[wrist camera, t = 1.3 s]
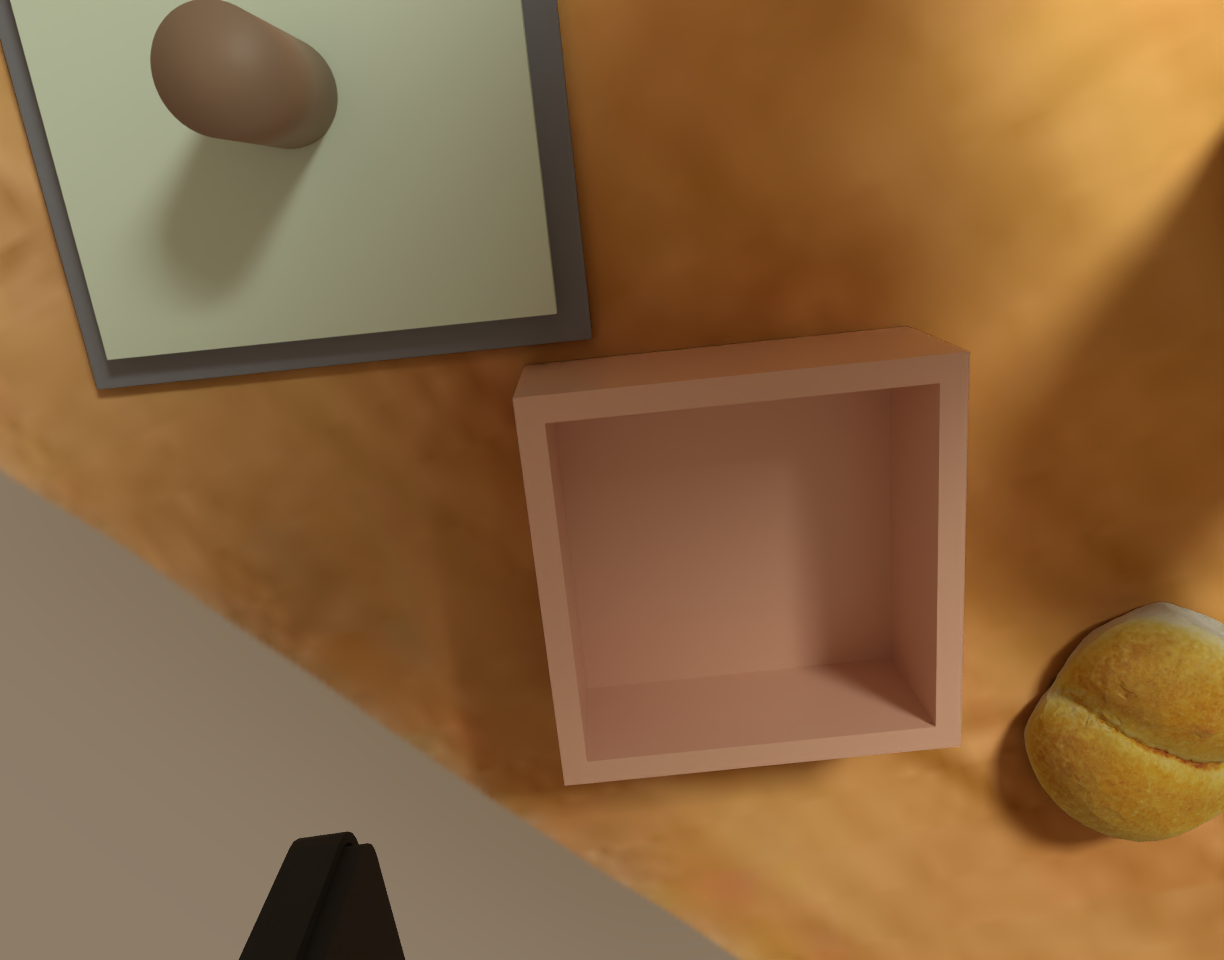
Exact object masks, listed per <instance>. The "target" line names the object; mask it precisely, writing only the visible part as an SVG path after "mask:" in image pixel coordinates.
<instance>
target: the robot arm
mask: <svg viewBox="0 0 1224 960" xmlns="http://www.w3.org/2000/svg"><path fill="white" fill-rule="evenodd" d="M239 960H405V957H404V954H403V950H402V946H401V943H400V939H399V935H398V932H397V928H396V924H395V921H394V917H393V913H392V910H391V906H390V902H389V899H388V895H387V891H386V888H385V885H384V880H383V877H382V873H381V869H380V866H379V862H378V858H377V855H376V852H375V849H374V847H373V846H372V845H371V844H368V843H367V844H360V845H359V844H358V842H357V839H356V837H355V836H354V835H353V833H351V832H342V833H335V834H328V835H320V836H314V837H307V838H299V839H297V840H296V841H294V842H293V844H292V846H291V847H290V849H289V851H288V853H287V855H286V857H285V860H284V862H283V864H282V866H281V868H280V870H279V873H278V875H277V877H276V879H275V881H274V884H273V886H272V888H271V890H270V892H269V895H268V897H267V899H266V901H265V903H264V905H263V908H262V910H261V912H260V914H259V917H258V919H257V921H256V923H255V926H254V927H253V930H252V932H251V934H250V936H249V938H248V941H247V943H246V945H245V947H244V949H243V952H242V954H241V956H240V958H239Z"/></svg>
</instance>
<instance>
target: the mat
mask: <svg viewBox="0 0 1224 960" xmlns="http://www.w3.org/2000/svg"><path fill="white" fill-rule="evenodd" d="M522 8H523V17H524V25H525V34H526V42H527V51H528V60H529V68H530V77H531V86H532V94H533V103H534V112H535V120H536V129H537V138H538V146H539V155H540V163H541V172H542V181H543V189H544V198H545V207H546V215H547V224H548V233H549V241H550V250H551V259H552V267H553V276H554V284H555V293H556V302H557V310H558V311H557V314H550V315H541V316H531V317H521V318H511V319H502V320H492V321H482V322H472V323H463V324H453V325H443V326H433V327H424V328H414V329H404V330H394V331H385V332H375V333H365V334H355V335H346V336H336V337H326V338H317V339H307V340H297V341H287V342H278V343H268V344H258V345H248V346H239V347H229V348H219V349H209V350H200V351H190V352H180V353H170V354H161V355H151V356H141V357H131V358H122V359H112V360H107V357H106V353H105V349H104V346H103V342H102V338H101V334H100V331H99V327H98V323H97V320H96V316H95V312H94V309H93V305H92V301H91V298H90V294H89V290H88V286H87V283H86V279H85V275H84V272H83V268H82V264H81V261H80V257H79V253H78V250H77V246H76V242H75V238H74V235H73V231H72V227H71V224H70V220H69V216H68V213H67V209H66V205H65V202H64V198H63V194H62V190H61V187H60V183H59V179H58V176H57V172H56V168H55V165H54V161H53V157H52V154H51V150H50V146H49V142H48V139H47V135H46V131H45V128H44V124H43V120H42V117H41V113H40V109H39V106H38V102H37V98H36V94H35V91H34V87H33V83H32V80H31V76H30V72H29V69H28V65H27V61H26V58H25V54H24V50H23V46H22V43H21V39H20V35H19V32H18V28H17V24H16V21H15V17H14V13H13V9H12V6H11V2H10V0H0V39H1V43H2V46H3V50H4V54H5V57H6V61H7V64H8V68H9V72H10V75H11V79H12V83H13V86H14V90H15V93H16V97H17V101H18V104H19V108H20V111H21V115H22V119H23V122H24V126H25V129H26V133H27V137H28V140H29V144H30V148H31V151H32V155H33V158H34V162H35V166H36V169H37V173H38V176H39V180H40V184H41V187H42V191H43V194H44V198H45V202H46V205H47V209H48V213H49V216H50V220H51V223H52V227H53V231H54V234H55V238H56V241H57V245H58V249H59V252H60V256H61V259H62V263H63V267H64V270H65V274H66V278H67V281H68V285H69V288H70V292H71V296H72V299H73V303H74V306H75V310H76V314H77V317H78V321H79V324H80V328H81V332H82V335H83V339H84V343H85V346H86V350H87V353H88V357H89V361H90V364H91V368H92V371H93V375H94V379H95V382H96V386H97V389H107V388H117V387H127V386H136V385H146V384H156V383H166V382H175V381H185V380H195V379H205V378H214V377H224V376H234V375H244V374H254V373H263V372H273V371H283V370H293V369H302V368H312V367H322V366H332V365H341V364H351V363H361V362H371V361H380V360H390V359H400V358H410V357H419V356H429V355H439V354H449V353H458V352H468V351H478V350H488V349H497V348H507V347H517V346H527V345H536V344H546V343H556V342H566V341H575V340H585V339H592V331H591V322H590V312H589V303H588V293H587V284H586V274H585V265H584V255H583V246H582V236H581V227H580V217H579V208H578V198H577V188H576V179H575V169H574V160H573V150H572V141H571V131H570V122H569V112H568V103H567V93H566V84H565V74H564V65H563V55H562V46H561V36H560V27H559V17H558V8H557V0H522Z"/></svg>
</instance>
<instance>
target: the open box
mask: <svg viewBox="0 0 1224 960" xmlns="http://www.w3.org/2000/svg"><path fill="white" fill-rule="evenodd" d="M969 354H970V352H969V351H967V350H965V349H962V348H960V347H957V346H955V345H952V344H950V343H948V342H945V341H943V340H940V339H938V338H935V337H933V336H931V335H928V334H926V333H923V332H921V331H918V330H916V329H914V328H911V327H909V326H904V327H894V328H884V329H875V330H865V331H855V332H845V333H836V334H826V335H816V336H806V337H797V338H787V339H777V340H767V341H757V342H748V343H738V344H728V345H718V346H709V347H699V348H689V349H679V350H670V351H660V352H650V353H640V354H630V355H621V356H611V357H601V358H591V359H582V360H572V361H562V362H552V363H543V364H533V365H524V368H523V371H522V373H521V376H520V379H519V382H518V384H517V387H516V390H515V392H514V395H513V398H512V399H513V407H514V414H515V422H516V429H517V437H518V444H519V451H520V459H521V466H522V474H523V481H524V488H525V496H526V503H527V511H528V518H529V526H530V533H531V540H532V548H533V555H534V563H535V570H536V578H537V585H538V592H539V600H540V607H541V615H542V622H543V629H544V637H545V644H546V652H547V659H548V667H549V674H550V681H551V689H552V696H553V704H554V711H555V718H556V726H557V733H558V741H559V748H560V756H561V763H562V770H563V778H564V785H565V786H568V785H578V784H588V783H598V782H608V781H618V780H628V779H638V778H648V777H658V776H668V775H678V774H688V773H698V772H708V771H718V770H728V769H738V768H748V767H758V766H768V765H778V764H788V763H798V762H808V761H818V760H828V759H838V758H848V757H858V756H868V755H878V754H888V753H898V752H908V751H918V750H928V749H938V748H948V747H958V746H961V710H962V666H963V621H964V577H965V532H966V488H967V443H968V399H969Z"/></svg>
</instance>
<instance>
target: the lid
mask: <svg viewBox="0 0 1224 960" xmlns="http://www.w3.org/2000/svg"><path fill="white" fill-rule="evenodd" d="M10 2H11V6H12V9H13V13H14V17H15V21H16V24H17V28H18V32H19V35H20V39H21V43H22V46H23V50H24V54H25V58H26V61H27V65H28V69H29V72H30V76H31V80H32V83H33V87H34V91H35V94H36V98H37V102H38V106H39V109H40V113H41V117H42V120H43V124H44V128H45V131H46V135H47V139H48V142H49V146H50V150H51V154H52V157H53V161H54V165H55V168H56V172H57V176H58V179H59V183H60V187H61V190H62V194H63V198H64V202H65V205H66V209H67V213H68V216H69V220H70V224H71V227H72V231H73V235H74V238H75V242H76V246H77V250H78V253H79V257H80V261H81V264H82V268H83V272H84V275H85V279H86V283H87V286H88V290H89V294H90V298H91V301H92V305H93V309H94V312H95V316H96V320H97V323H98V327H99V331H100V334H101V338H102V342H103V346H104V349H105V353H106V357H107V360H112V359H122V358H131V357H141V356H151V355H161V354H170V353H180V352H190V351H200V350H209V349H219V348H229V347H239V346H248V345H258V344H268V343H278V342H287V341H297V340H307V339H317V338H326V337H336V336H346V335H355V334H365V333H375V332H385V331H394V330H404V329H414V328H424V327H433V326H443V325H453V324H463V323H472V322H482V321H492V320H502V319H511V318H521V317H531V316H541V315H550V314H557V311H558V310H557V302H556V293H555V284H554V276H553V267H552V259H551V250H550V241H549V233H548V224H547V215H546V207H545V198H544V189H543V181H542V172H541V163H540V155H539V146H538V138H537V129H536V120H535V112H534V103H533V94H532V86H531V77H530V68H529V60H528V51H527V42H526V34H525V25H524V17H523V8H522V0H10Z"/></svg>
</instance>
